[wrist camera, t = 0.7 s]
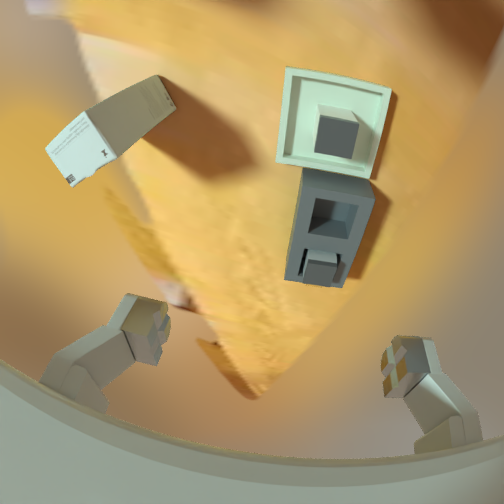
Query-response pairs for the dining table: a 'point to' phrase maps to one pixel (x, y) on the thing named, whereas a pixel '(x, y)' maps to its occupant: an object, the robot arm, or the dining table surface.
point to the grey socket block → (328, 221)
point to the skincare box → (109, 129)
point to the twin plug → (319, 267)
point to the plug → (334, 131)
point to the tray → (337, 95)
